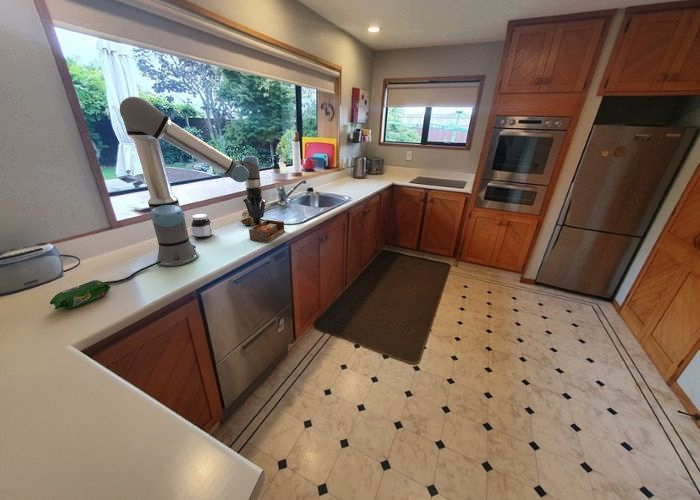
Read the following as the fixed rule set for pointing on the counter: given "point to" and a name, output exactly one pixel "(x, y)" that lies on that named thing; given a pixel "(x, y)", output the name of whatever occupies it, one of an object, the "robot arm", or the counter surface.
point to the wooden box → (266, 230)
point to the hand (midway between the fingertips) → (257, 229)
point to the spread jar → (201, 226)
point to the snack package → (80, 294)
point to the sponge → (246, 218)
